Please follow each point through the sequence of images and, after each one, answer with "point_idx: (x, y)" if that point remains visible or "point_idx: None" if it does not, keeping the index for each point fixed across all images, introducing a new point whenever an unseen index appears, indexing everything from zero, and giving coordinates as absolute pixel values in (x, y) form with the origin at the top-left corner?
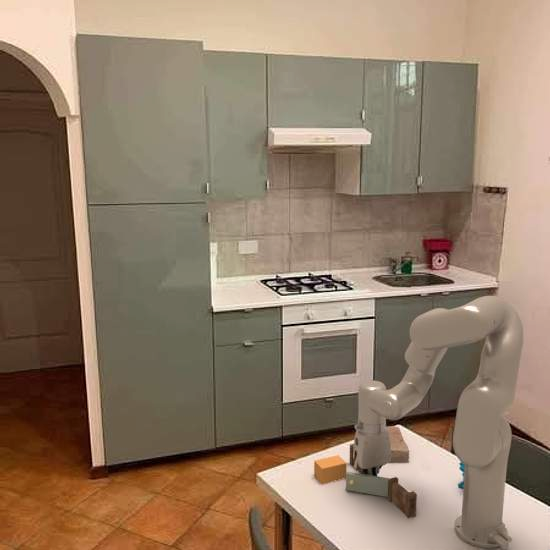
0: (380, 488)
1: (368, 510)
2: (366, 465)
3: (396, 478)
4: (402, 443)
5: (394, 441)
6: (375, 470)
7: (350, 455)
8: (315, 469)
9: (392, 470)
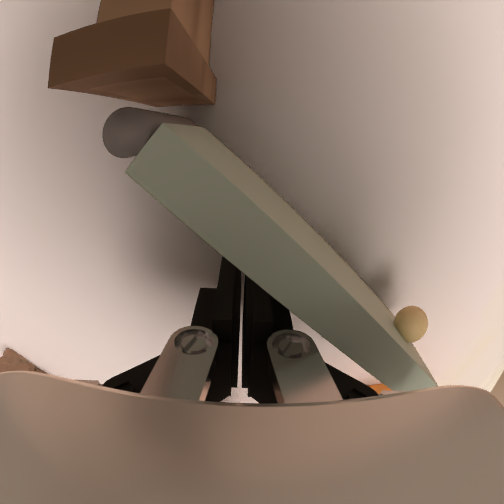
0: (248, 174)
1: (408, 87)
2: (463, 424)
3: (70, 44)
4: None
5: None
6: (214, 363)
7: None
8: None
9: (63, 347)
